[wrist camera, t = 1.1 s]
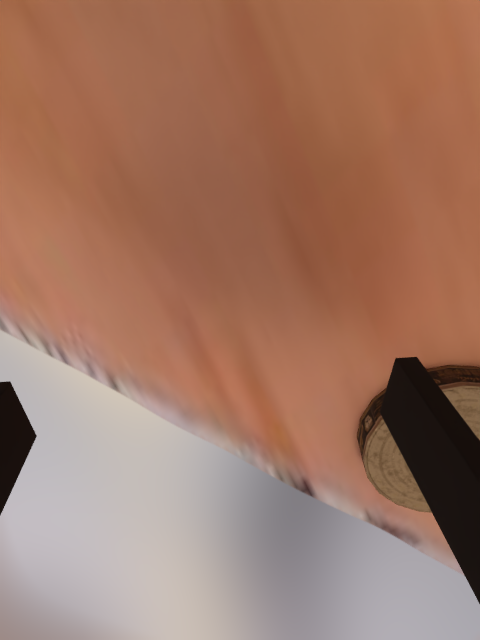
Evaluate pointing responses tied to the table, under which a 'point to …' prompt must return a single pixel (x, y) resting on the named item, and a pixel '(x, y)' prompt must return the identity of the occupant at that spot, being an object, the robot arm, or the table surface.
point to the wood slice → (384, 455)
